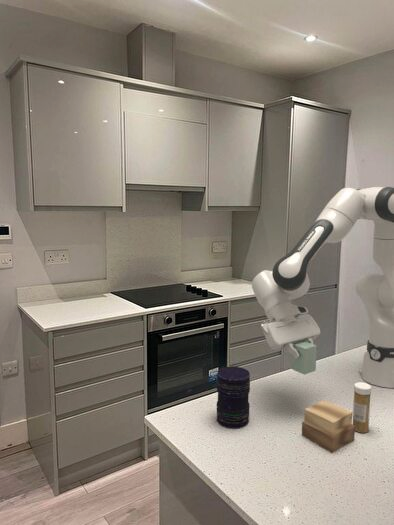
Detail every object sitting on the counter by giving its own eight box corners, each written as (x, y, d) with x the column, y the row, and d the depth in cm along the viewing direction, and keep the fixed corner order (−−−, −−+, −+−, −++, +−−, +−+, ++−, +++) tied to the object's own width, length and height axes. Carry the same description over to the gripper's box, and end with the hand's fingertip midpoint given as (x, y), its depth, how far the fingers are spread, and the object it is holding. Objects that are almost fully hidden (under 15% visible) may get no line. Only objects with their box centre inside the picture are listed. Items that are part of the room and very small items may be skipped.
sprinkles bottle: (372, 430, 116) (374, 386, 115) (362, 435, 114) (365, 390, 112) (358, 423, 120) (360, 380, 118) (348, 427, 118) (350, 384, 116)
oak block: (323, 412, 118) (324, 399, 118) (351, 425, 111) (352, 412, 111) (304, 422, 113) (304, 409, 112) (332, 437, 106) (333, 422, 105)
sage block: (302, 365, 127) (303, 340, 126) (315, 370, 123) (316, 345, 122) (291, 369, 124) (292, 344, 123) (304, 374, 120) (305, 348, 119)
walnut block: (323, 425, 120) (324, 411, 119) (354, 441, 112) (355, 426, 111) (301, 436, 114) (302, 421, 113) (331, 454, 106) (332, 438, 105)
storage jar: (253, 416, 124) (254, 369, 122) (243, 432, 115) (244, 382, 113) (223, 409, 128) (223, 364, 126) (211, 424, 120) (211, 376, 118)
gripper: (264, 316, 121) (287, 357, 114) (309, 306, 132) (333, 343, 126) (253, 327, 125) (275, 367, 118) (298, 316, 136) (321, 353, 130)
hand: (305, 355), depth 122 cm, fingers closed on sage block, 5 cm apart
